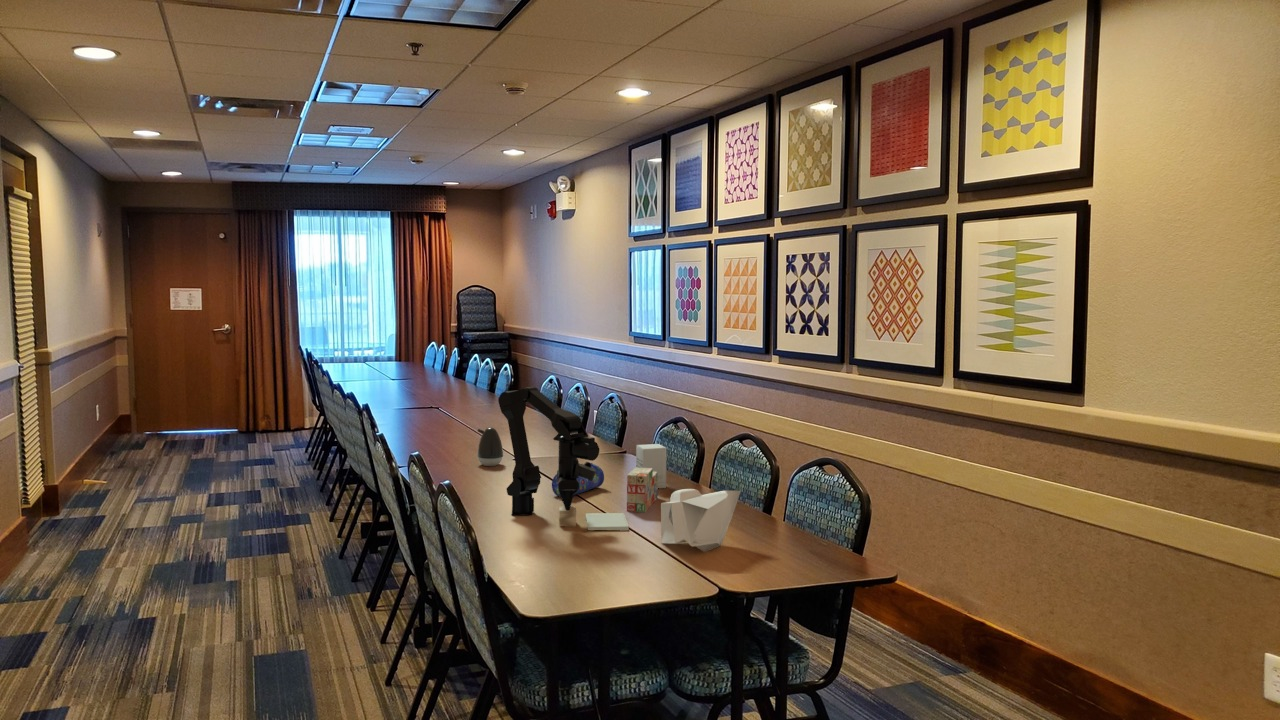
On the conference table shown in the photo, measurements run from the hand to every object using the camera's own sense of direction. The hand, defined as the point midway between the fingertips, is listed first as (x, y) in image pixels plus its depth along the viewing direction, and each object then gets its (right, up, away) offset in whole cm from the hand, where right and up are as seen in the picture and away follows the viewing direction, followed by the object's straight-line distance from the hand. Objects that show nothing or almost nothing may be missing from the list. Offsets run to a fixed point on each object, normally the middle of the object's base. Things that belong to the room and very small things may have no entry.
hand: (567, 506), depth 281 cm
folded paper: (+41, -8, -21) cm, 47 cm away
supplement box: (+26, -2, +55) cm, 60 cm away
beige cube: (0, -6, 0) cm, 6 cm away
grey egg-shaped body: (-38, +2, +88) cm, 96 cm away
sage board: (+12, -6, +2) cm, 13 cm away
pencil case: (0, -2, +44) cm, 44 cm away
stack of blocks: (+23, -4, +27) cm, 36 cm away
